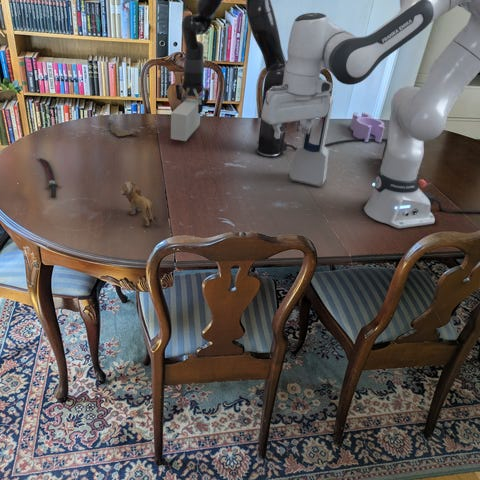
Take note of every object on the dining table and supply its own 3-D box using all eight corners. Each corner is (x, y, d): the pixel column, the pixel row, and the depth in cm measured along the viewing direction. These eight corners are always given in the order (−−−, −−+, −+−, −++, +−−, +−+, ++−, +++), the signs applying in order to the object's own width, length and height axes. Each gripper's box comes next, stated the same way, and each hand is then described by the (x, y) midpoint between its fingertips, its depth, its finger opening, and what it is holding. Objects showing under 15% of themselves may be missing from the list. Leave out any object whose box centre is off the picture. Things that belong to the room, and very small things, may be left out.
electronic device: (325, 180, 169) (342, 97, 152) (321, 188, 163) (339, 103, 146) (292, 173, 172) (306, 91, 155) (287, 181, 165) (301, 96, 149)
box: (186, 122, 199) (187, 98, 194) (199, 124, 198) (201, 100, 193) (170, 138, 181) (171, 112, 176) (185, 141, 181) (186, 115, 175)
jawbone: (124, 141, 183) (123, 136, 182) (92, 127, 194) (92, 122, 192) (142, 134, 189) (141, 130, 188) (110, 121, 199) (109, 116, 198)
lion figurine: (118, 210, 138) (116, 182, 133) (132, 204, 141) (131, 177, 137) (151, 229, 130) (150, 201, 126) (165, 223, 134) (165, 195, 129)
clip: (343, 126, 223) (346, 112, 219) (367, 127, 225) (371, 113, 221) (360, 142, 206) (364, 127, 202) (386, 142, 209) (390, 127, 205)
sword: (61, 197, 141) (61, 193, 140) (50, 198, 139) (50, 194, 139) (49, 160, 164) (48, 156, 163) (39, 160, 163) (39, 157, 162)
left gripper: (173, 69, 182) (172, 111, 191) (208, 74, 180) (206, 117, 189) (178, 65, 188) (177, 106, 197) (213, 70, 186) (210, 111, 195)
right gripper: (275, 90, 111) (268, 145, 118) (337, 84, 121) (327, 135, 129) (259, 82, 115) (253, 136, 122) (321, 77, 125) (312, 127, 133)
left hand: (191, 111), depth 193 cm, fingers closed on box, 6 cm apart
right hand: (291, 135), depth 125 cm, fingers open, 8 cm apart
